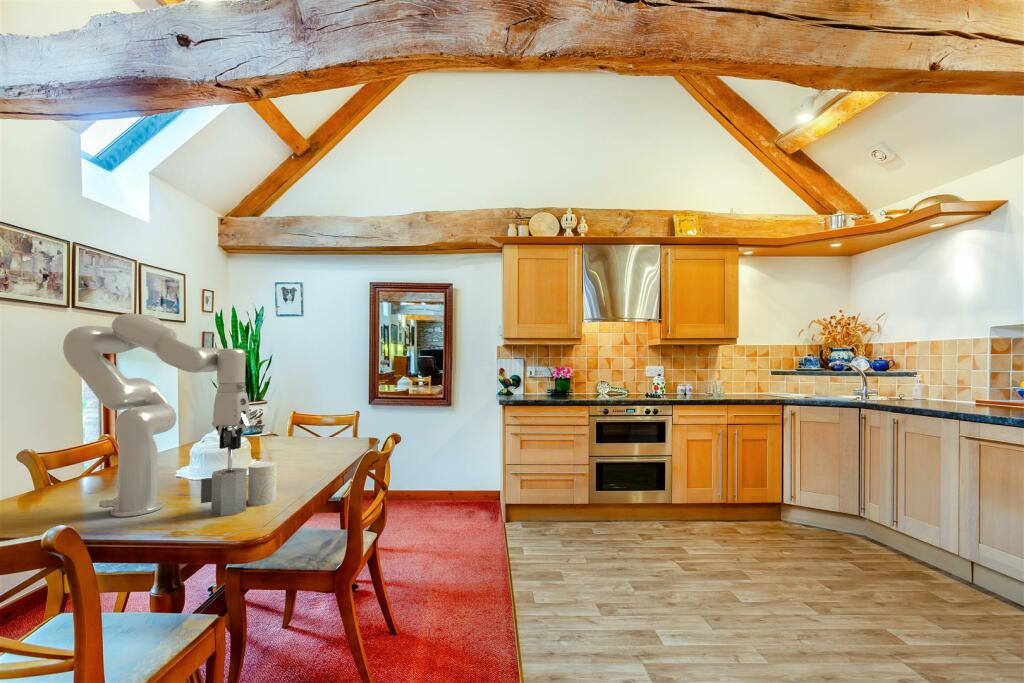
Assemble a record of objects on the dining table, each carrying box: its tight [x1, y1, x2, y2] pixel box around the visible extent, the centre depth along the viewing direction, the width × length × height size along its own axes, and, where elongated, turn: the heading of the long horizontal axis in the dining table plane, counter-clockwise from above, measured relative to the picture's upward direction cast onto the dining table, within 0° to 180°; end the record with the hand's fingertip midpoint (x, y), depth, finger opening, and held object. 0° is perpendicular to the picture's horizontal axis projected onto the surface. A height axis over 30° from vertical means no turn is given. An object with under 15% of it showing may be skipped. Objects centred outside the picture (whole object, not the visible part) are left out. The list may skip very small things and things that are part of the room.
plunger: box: [223, 429, 233, 473], centre depth 148 cm, size 4×4×17 cm
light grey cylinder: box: [247, 461, 278, 506], centre depth 157 cm, size 8×8×12 cm
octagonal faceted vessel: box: [200, 467, 248, 517], centre depth 147 cm, size 12×9×12 cm
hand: (230, 447), depth 148 cm, fingers closed on plunger, 3 cm apart
